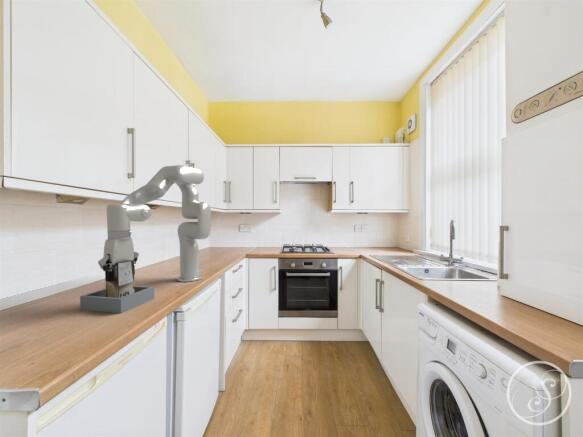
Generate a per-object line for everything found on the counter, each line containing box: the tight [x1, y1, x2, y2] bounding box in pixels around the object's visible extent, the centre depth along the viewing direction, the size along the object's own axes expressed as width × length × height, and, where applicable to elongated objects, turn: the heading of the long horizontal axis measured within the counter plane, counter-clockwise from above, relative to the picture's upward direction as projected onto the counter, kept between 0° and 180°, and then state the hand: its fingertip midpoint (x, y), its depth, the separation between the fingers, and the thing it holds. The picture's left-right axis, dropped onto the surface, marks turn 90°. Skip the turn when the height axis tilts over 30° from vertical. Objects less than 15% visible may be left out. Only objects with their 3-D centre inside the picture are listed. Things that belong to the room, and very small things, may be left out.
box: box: [79, 285, 155, 314], centre depth 98 cm, size 16×18×5 cm
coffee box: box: [105, 260, 135, 298], centre depth 98 cm, size 9×6×16 cm
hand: (120, 277), depth 99 cm, fingers open, 9 cm apart
